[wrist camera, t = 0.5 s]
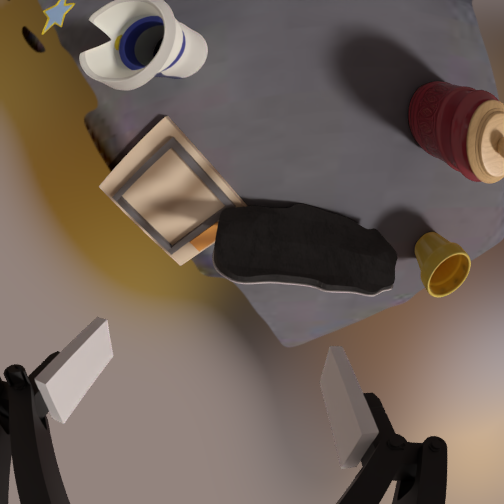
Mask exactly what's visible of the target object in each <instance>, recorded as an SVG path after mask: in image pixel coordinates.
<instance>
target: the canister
mask: <svg viewBox="0 0 504 504" xmlns="http://www.w3.org/2000/svg"><path fill="white" fill-rule="evenodd" d="M408 120H409V126H410V130H411V133H412V135H413V137H414V139H415V140H416V142H417V143H418V144H419V145H420V146H421V147H422V149H423V150H424V151H426V152H427V153H428V154H430V155H432V156H434V157H436V158H439V159H441V160H442V161H444V162H445V163H447V164H448V165H449V166H450V167H452V168H453V169H455V170H456V171H459V172H461V173H462V174H463V175H464V176H465V177H466V178H468V179H469V180H472V181H476V182H485V183H495V182H497V181H499V180H501V179H502V178H503V177H504V104H503V103H501V102H500V101H499V100H498V99H497V98H496V97H495V96H494V95H492V94H491V93H489V92H487V91H484V90H475V89H473V88H471V87H462V86H457V85H452V84H450V83H447V82H441V81H434V82H430V83H426V84H424V85H422V86H421V87H420V88H418V89H417V91H416V92H415V93H414V95H413V97H412V99H411V101H410V105H409V111H408Z"/></svg>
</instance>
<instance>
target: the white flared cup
mask: <svg viewBox="0 0 504 504" xmlns="http://www.w3.org/2000/svg"><path fill="white" fill-rule="evenodd" d="M74 5H75V3H68V4H66V0H59V1H58V2H57V3H56V5H54V6H52V7H50V8H48V9H46V10H44V11H43V13H44V14H45V15H46V17H47V21H46V24H45V26H44V28H43V31H42V35H43V34H44V33H45V32H46V31H47V30H48V29H49V28H51V27H52V26H53V25H54V24H56V25H58V26H59V27H62V25H63V21H64V18H65V15H66V14H67V13H68V11H69V10H70V9H71V8H72V7H73V6H74ZM89 21H91V22H92V23H93V24H95V25H96V26H97V27H98V28H100V29H101V30H102V31H103V32H104V33H105V34H107V35H108V36H109V37H110V39H111V41H109V42H107V43H105V44H102V45H100V46H98V47H95V48H93V49H90V50H87V51H85V52H82V53H80V56H79V60H80V64H81V67H82V68H83V70H84V72H85V73H86V74H87V75H88V76H89V77H91V78H92V79H94V80H97V81H100V82H102V83H104V84H106V85H108V86H110V87H112V88H114V89H118V90H133V89H136V88H138V87H140V86H142V85H144V84H145V83H147V82H148V81H149V80H151V79H152V78H153V77H168V78H174V79H180V78H185V77H188V76H191V75H192V74H194V73H196V72H197V71H198V70H199V69H200V68H201V67H202V66H203V64H204V63H205V60H206V58H207V53H208V48H207V44H206V41H205V40H204V38H203V37H202V36H201V35H200V34H199V33H197V32H196V31H194V30H192V29H190V28H188V27H187V26H186V25H184V24H183V23H181V22H178V21H177V20H176V19H175V18H174V15H173V12H172V10H171V8H170V7H169V6H168V4H167V3H166V2H164V1H163V0H115V1H113V2H110V3H109V4H107V5H105V6H104V7H102V8H101V9H99V10H98V11H96V12H95V13H94V14H92V15H91V17H90V18H89ZM163 36H164V37H163ZM162 37H163V41H162V44H161V46H160V48H159V50H158V52H157V54H156V55H155V57H154V58H153V52H154V48H155V46H156V44H157V43H158V41H159V40H160V39H161V38H162Z"/></svg>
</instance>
